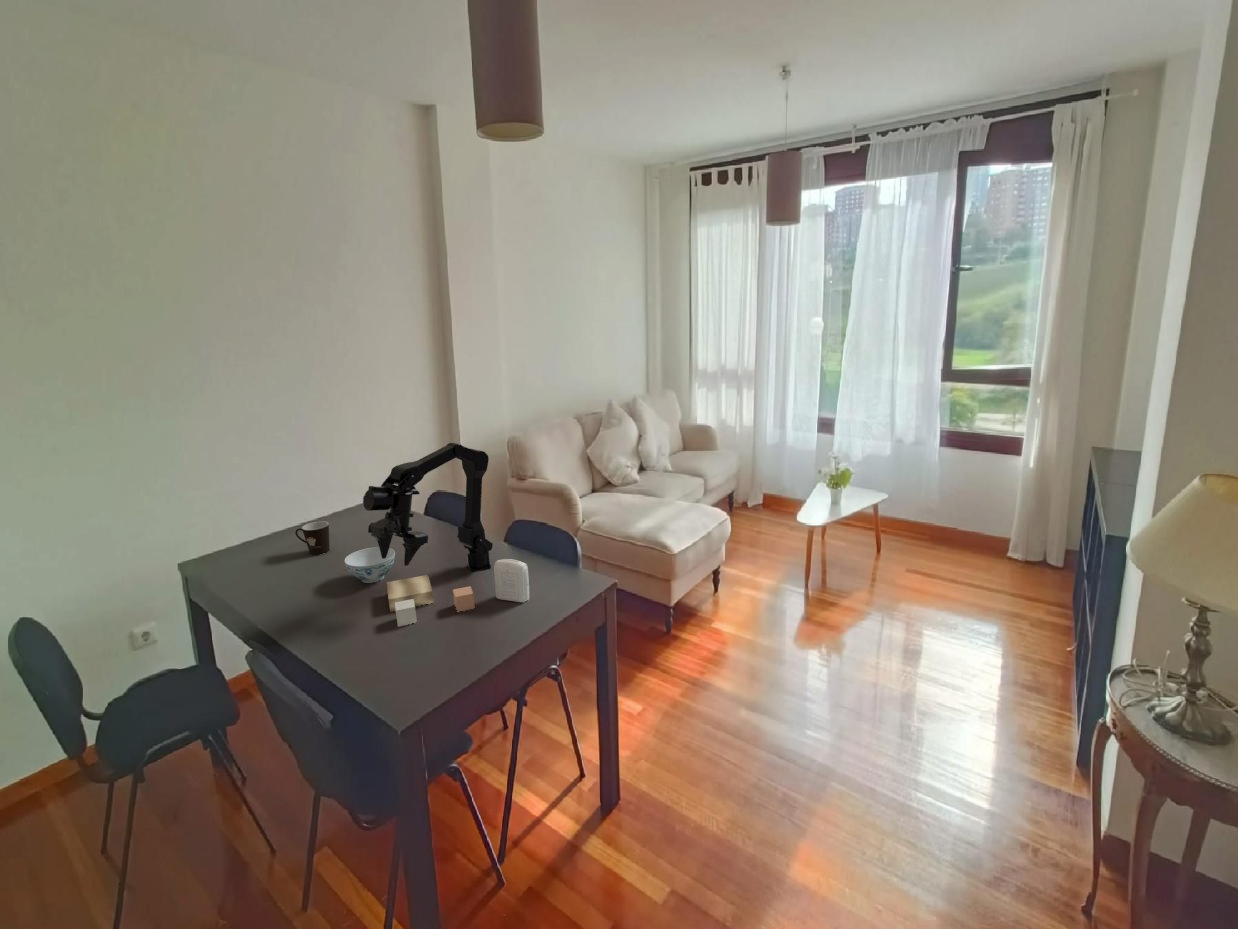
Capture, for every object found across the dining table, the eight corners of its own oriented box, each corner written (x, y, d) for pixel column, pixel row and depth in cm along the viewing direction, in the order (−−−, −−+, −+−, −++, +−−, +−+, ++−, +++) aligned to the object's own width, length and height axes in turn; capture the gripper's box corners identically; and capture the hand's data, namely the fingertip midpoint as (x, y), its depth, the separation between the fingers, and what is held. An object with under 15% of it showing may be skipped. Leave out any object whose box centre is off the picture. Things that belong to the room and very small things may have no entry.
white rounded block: (532, 597, 182) (529, 558, 178) (525, 604, 178) (522, 564, 174) (501, 593, 185) (497, 555, 181) (494, 599, 181) (490, 561, 178)
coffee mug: (338, 550, 220) (333, 523, 218) (315, 558, 213) (310, 531, 211) (319, 543, 226) (314, 518, 224) (296, 552, 219) (291, 525, 217)
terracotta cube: (471, 601, 180) (470, 586, 179) (474, 609, 176) (473, 593, 174) (454, 605, 178) (452, 589, 177) (457, 613, 174) (455, 597, 173)
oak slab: (429, 586, 190) (427, 574, 189) (433, 603, 179) (432, 591, 178) (388, 594, 186) (386, 582, 185) (390, 612, 175) (388, 599, 174)
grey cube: (415, 614, 174) (413, 598, 172) (417, 623, 169) (414, 606, 168) (396, 618, 172) (394, 602, 170) (397, 627, 167) (395, 610, 166)
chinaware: (385, 564, 207) (382, 543, 205) (406, 577, 197) (403, 555, 195) (340, 579, 197) (336, 556, 195) (359, 593, 187) (355, 570, 185)
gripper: (355, 505, 175) (349, 558, 176) (401, 517, 166) (395, 574, 167) (386, 502, 184) (381, 553, 186) (432, 514, 176) (426, 567, 177)
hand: (394, 562), depth 179 cm, fingers open, 9 cm apart
